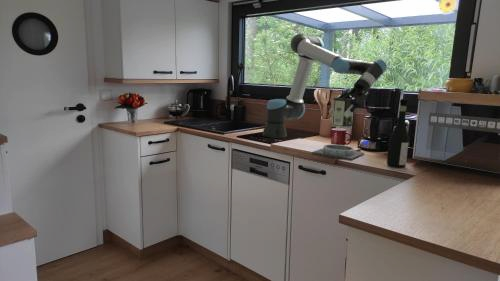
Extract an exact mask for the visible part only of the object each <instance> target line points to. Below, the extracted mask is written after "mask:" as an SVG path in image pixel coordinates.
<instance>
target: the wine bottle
mask: <svg viewBox="0 0 500 281" xmlns="http://www.w3.org/2000/svg"><path fill="white" fill-rule="evenodd" d="M399 100H400V101H399V112H398V119H397V123H396V125H395V127H394V129H393V130H392V133H391V134H390V137H389V141H388V150H387V158H386V159H387V160H386V164H387V165H388V166H390V167H392V168H396V169H398V168H399V169H400V168H401V169H402V168H405V167H406V165H407V159H408V158H407V157H408V150H409V142H410V140H409V133H408V130H407V126H406V115H407V114H406V113H407V105H408V99H405V98H400V99H399Z"/></svg>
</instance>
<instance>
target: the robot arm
mask: <svg viewBox="0 0 500 281" xmlns="http://www.w3.org/2000/svg"><path fill="white" fill-rule="evenodd" d="M289 43H290V49H291V50H292V52H293V53H295V54H297V56H298V58H299V60H298V63H297V67H296V71H295V74H294V77H293V81H292V85H291V89H290V92H289V95H287V96H286V97H285V99H284V98H274V99H269V100H268V101H267V104H266V122H265V126H264V128H263V131H262V136H263V137H265V138H272V139H274V138H275V139H283V138H284V139H285V138H287V136H288V134H287V128H286V126H285V124H286V122H285V121H286V120H299V119H301V118H302V117H303V116H304V115H305V111H306V107H305V106H306V105H305V104H304V103H305V101H304V99H303V97H304V95H305V90H306V88H307V85H308V81H309V77H310V74H311V71H312V67H313V64H314V62H318V63H321V64H322V65H324V66H327V67H328V68H330V69H332V70H333V72H335V73H336V74H340V75H342V74H343V75H346V74H347V75H358V76H360V77H358V79H357V80H356V81H355V83H354V84H353V88H351V89H350V88H347V89H345V91H344V92H343V93H341V94H340V95H339V96H338V97H337V98H350V99H355V100H354V104H353V105H351V106H350V107H349V108H348V109H347V111H346V112H345V113H344V115H345V117H346V118H348V117H349V115H350V114H351V113H352V112H353V113H354V112H355V111H356V109H358V108H362V107H363V105H364V103H365V101H366V99H367V97H368V96H369V90H371V88H372V87H373V85H374V84H376V82H377V81H378V80H379V78H380V77H382V75H384V72H386V70H387V68H388V64H387V63H386V62H385V60H384V59H382V58H375V60H373V62H372V61H365V60H360V59H354V58H353V59H352V58H351V59H350V58H345V57H343V56H341V55H339V54H337V53H335V52H333V51H330V50H328V49H326V48H325V44H324V41H323V39H322V38H321V37H320V36H317V35H314V34H313V35H312V34H304V33H298V34H295V35H294V36H293V37H292V38H291V40H290V42H289ZM332 111H333V106H332V107H331V109H329V111H328V112H329V114H330V116H332Z"/></svg>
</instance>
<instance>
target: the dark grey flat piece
mask: <svg viewBox="0 0 500 281" xmlns="http://www.w3.org/2000/svg"><path fill="white" fill-rule="evenodd" d="M311 154H312V155H317V156H323V157H328V158H336V159H339V160H340V159H341V160H347V161H354V160H356V159H357V158H360V157H361V156H363V155H365V152H362V151H359V150H357V151H356V149H355V148H354V147H352V146H349V145H344V144H324V145H323V147H322V148H320V149H317V150H315V151H314V150H313V151H312V152H311Z"/></svg>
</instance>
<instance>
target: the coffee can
mask: <svg viewBox="0 0 500 281" xmlns="http://www.w3.org/2000/svg"><path fill="white" fill-rule="evenodd" d="M354 100H355V98H352V99H350V98H338V97H333V99H332V102H333V103H332V107H333V111H332V115H331V123H330V126H331V127H334V128H339V129H340V128H343V129H351V128H353V119H354V111H353V112H352V113H351V114H350V115H349V117H348V118H346V117H345V115H344V113H345V112H346V111H347V109H348V108H349V107H350V106H351V105H353V104H354Z"/></svg>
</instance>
